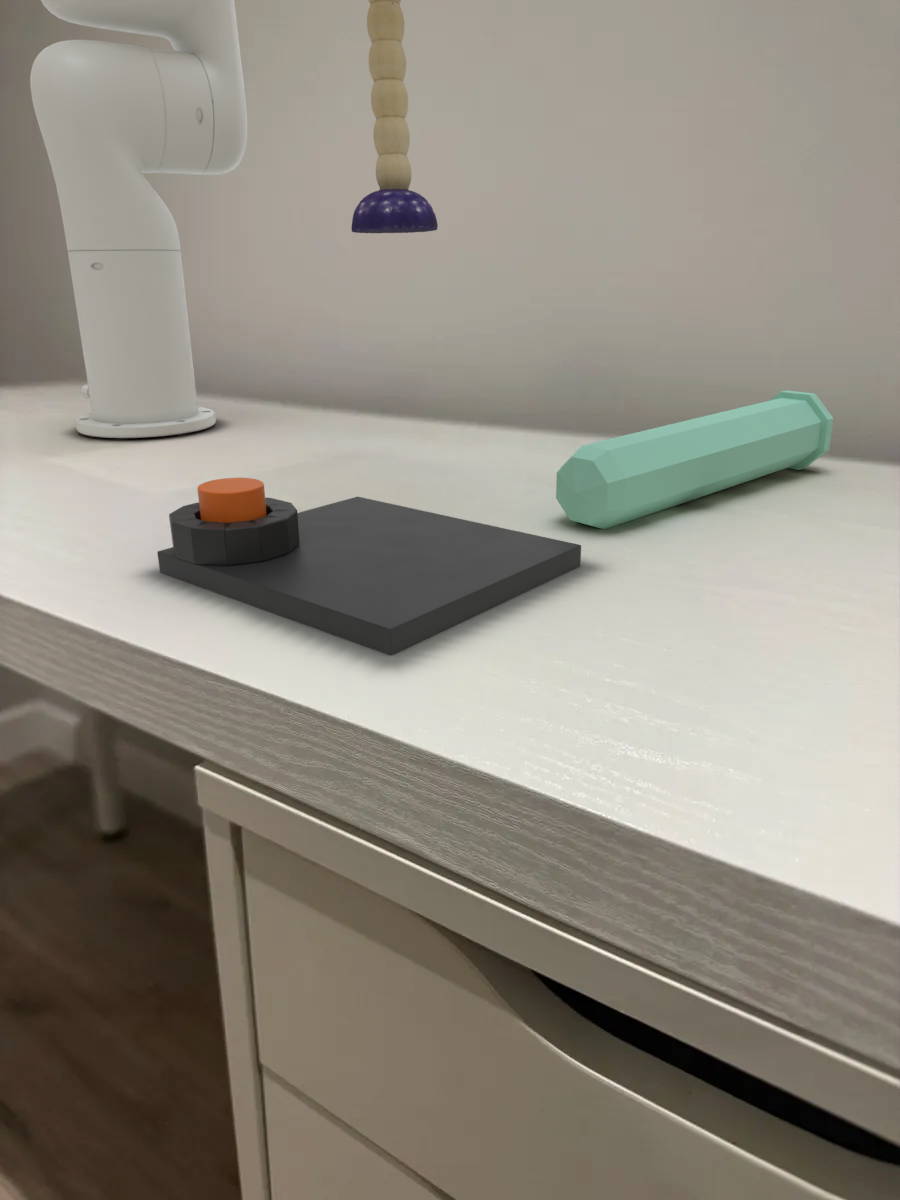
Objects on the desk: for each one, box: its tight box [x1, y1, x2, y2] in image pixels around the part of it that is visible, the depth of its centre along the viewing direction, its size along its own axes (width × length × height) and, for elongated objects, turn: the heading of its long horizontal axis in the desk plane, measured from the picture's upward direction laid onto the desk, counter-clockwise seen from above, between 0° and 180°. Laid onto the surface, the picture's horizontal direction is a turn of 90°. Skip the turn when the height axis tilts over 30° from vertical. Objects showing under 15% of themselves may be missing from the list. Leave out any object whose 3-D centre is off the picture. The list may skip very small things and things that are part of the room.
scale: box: [157, 496, 582, 656], centre depth 44 cm, size 16×14×3 cm
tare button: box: [196, 477, 267, 523], centre depth 44 cm, size 3×3×2 cm
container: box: [555, 390, 835, 530], centre depth 57 cm, size 6×6×25 cm
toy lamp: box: [351, 0, 439, 234], centre depth 40 cm, size 5×5×17 cm
